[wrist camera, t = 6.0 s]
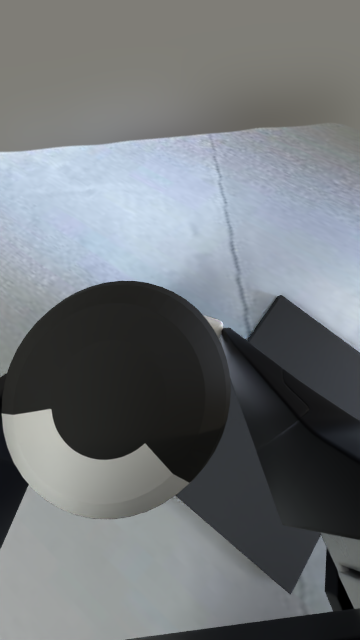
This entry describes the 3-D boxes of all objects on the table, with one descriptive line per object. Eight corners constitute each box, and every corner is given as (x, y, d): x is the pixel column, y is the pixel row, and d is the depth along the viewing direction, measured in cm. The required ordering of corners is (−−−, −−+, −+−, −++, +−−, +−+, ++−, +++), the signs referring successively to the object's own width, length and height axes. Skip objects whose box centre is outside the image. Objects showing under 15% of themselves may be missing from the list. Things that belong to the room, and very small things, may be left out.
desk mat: (285, 583, 13) (290, 595, 12) (155, 471, 14) (154, 477, 13) (390, 379, 16) (398, 381, 15) (277, 296, 16) (281, 294, 16)
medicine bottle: (140, 309, 16) (28, 213, 4) (203, 329, 16) (295, 296, 4) (116, 374, 15) (-140, 531, 3) (183, 396, 15) (222, 651, 3)
